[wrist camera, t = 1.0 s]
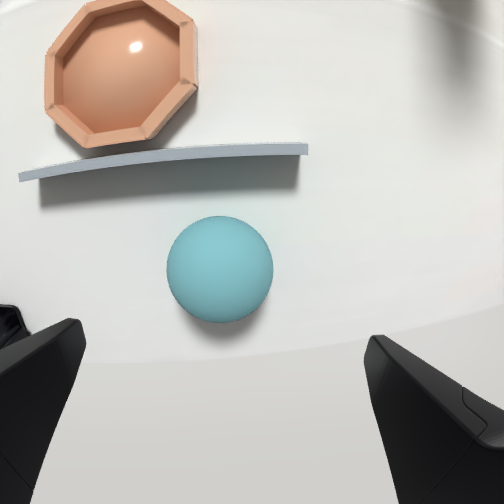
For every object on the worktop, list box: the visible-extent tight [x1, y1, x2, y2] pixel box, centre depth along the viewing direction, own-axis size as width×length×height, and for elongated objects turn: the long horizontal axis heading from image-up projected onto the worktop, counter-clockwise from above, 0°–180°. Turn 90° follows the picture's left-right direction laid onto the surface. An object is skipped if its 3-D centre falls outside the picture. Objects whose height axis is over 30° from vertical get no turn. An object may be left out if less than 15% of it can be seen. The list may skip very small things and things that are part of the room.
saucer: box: [44, 0, 198, 148], centre depth 16 cm, size 10×10×2 cm
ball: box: [167, 216, 273, 323], centre depth 18 cm, size 6×6×6 cm
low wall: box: [18, 142, 308, 182], centre depth 18 cm, size 18×1×2 cm, turn 92°
